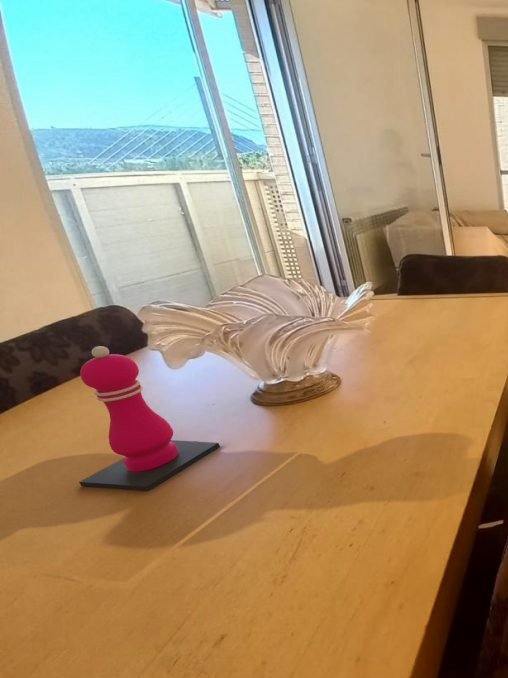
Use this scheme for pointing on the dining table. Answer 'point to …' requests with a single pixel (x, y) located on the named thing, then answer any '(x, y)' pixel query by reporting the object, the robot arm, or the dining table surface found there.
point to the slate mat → (149, 479)
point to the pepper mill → (128, 412)
